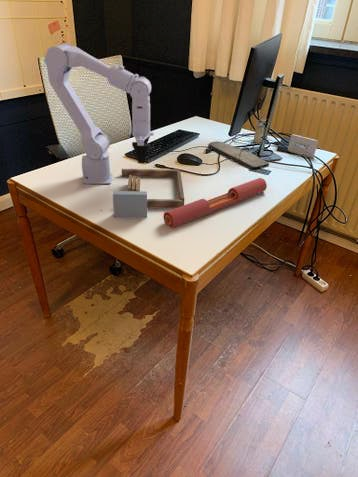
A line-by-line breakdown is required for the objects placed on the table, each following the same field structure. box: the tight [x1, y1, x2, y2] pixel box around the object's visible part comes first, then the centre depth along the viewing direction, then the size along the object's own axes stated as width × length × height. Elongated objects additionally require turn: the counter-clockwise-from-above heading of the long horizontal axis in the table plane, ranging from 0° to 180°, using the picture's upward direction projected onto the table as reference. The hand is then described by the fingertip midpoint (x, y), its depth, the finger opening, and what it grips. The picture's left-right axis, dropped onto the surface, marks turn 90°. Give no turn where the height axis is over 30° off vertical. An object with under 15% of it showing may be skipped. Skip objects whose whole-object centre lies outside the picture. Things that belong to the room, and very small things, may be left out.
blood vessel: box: [163, 177, 268, 229], centre depth 116 cm, size 42×5×5 cm, turn 129°
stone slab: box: [207, 140, 270, 170], centre depth 154 cm, size 10×3×30 cm
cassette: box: [287, 133, 319, 158], centre depth 157 cm, size 12×2×8 cm, turn 53°
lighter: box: [253, 118, 267, 143], centre depth 168 cm, size 7×4×10 cm, turn 135°
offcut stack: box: [126, 175, 141, 191], centre depth 123 cm, size 4×10×4 cm, turn 4°
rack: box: [121, 168, 185, 209], centre depth 123 cm, size 22×24×3 cm
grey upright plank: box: [112, 190, 148, 219], centre depth 107 cm, size 2×10×8 cm, turn 94°
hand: (141, 158), depth 123 cm, fingers open, 7 cm apart
